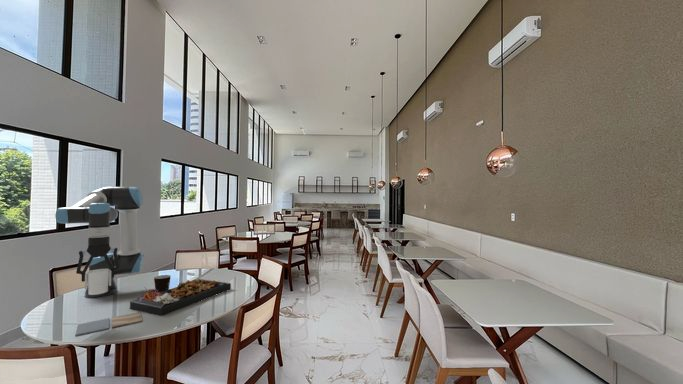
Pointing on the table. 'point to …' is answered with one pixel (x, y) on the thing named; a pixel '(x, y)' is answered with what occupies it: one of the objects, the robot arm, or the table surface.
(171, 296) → the food platter
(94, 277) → the white cup
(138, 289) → the table surface
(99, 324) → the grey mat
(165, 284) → the coffee mug
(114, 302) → the table surface
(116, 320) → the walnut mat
